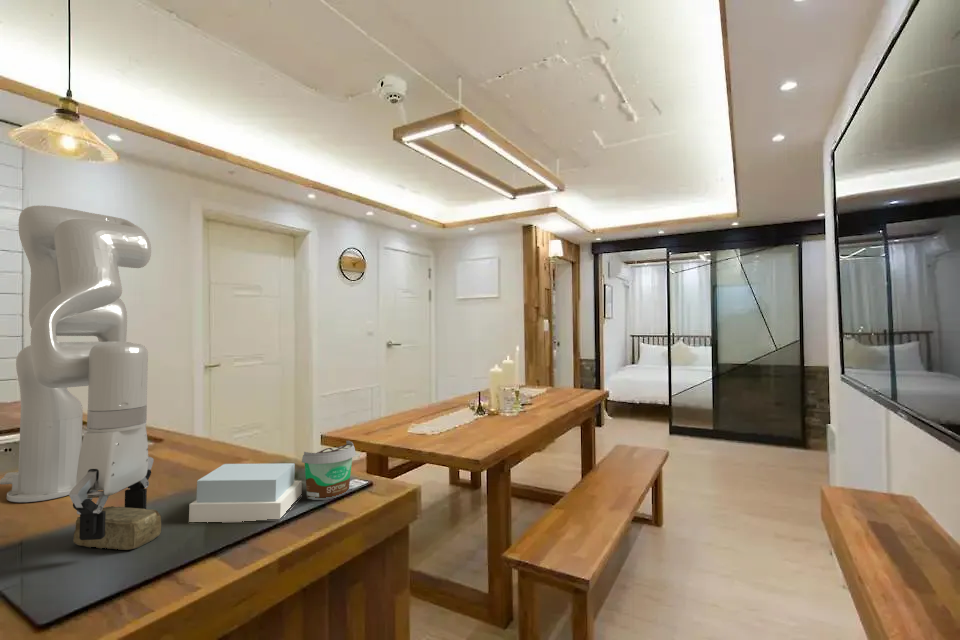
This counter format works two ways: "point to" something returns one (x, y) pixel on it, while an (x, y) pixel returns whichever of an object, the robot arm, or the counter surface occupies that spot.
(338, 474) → the food container
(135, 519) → the stone block
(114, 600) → the counter surface
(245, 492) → the tower top slab
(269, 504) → the tower base slab
